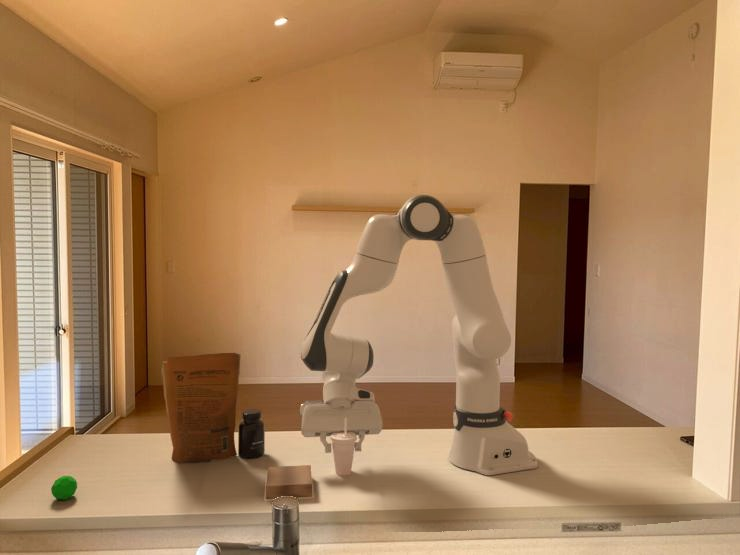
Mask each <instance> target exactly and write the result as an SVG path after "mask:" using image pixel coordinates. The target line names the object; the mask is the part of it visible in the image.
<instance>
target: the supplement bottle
mask: <svg viewBox="0 0 740 555" xmlns="http://www.w3.org/2000/svg"><path fill="white" fill-rule="evenodd" d="M241 415H242V416H241V419H242V420H240V422H239V423H238V427H237V428H238V429H237V431H238V432H237V433H238V434H237V436H238V437H237V438H238V439H237V440H238V441H237V446H238V447H237V448H238V449H237V451H238V452H237V455H238V457H239V458H240V459H243V460H256V459H258V458H262V457H263V456H264V455H265V447H266V446H265V444H266V443H265V442H266V441H265V439H266V437H265V436H266V435H265V434H266V433H265V432H266V430H265V429H266V428H265V426H266V425H265V422H264V421H263V420H262V411H261V409H259V408H247V409H244V410H242V412H241Z"/></svg>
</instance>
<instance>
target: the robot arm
mask: <svg viewBox="0 0 740 555" xmlns="http://www.w3.org/2000/svg"><path fill="white" fill-rule="evenodd" d="M410 240H416V241H431V242H432V241H433V242H434V243H435V244H436V246H437V247H438V249H439V250H438V251H439V253H440V256H441V257H440V258H441V263H442V268H443V273H444V278H445V283H446V288H447V291H448V295H449V298H450V300H451V302H452V305H453V308H454V311H455V316H454V317H453V319H452V322H451V331H452V345H453V357H454V365H455V366H454V367H455V375H456V376H455V378H456V379H455V380H456V382H455V384H456V386H455V387H456V388H455V404H454V406H453V407H454V408H453V416H452V417H453V418H452V419H453V420H452V421H453V427H454V430H453V437H452V443H451V447H450V451H449V454H448V461H449V462H450V463H452V464H453V466H456V467H458V468H461V469H464V470H469V471H472V472H477V473H479V474H482V475H485V476H493V475H498V474H499V475H501V474H505V473H506V474H507V473H512V472H514V473H515V472H519V471H527V470H533V469H537V468H538V466H539V465H538V464H539V462H538V459H537V456H535V455H534V453H532V452H531V451H530V449H529V446H528V441H527V439H526V438H525V435H523V434H522V433H521V432H520V431H519V430H517V429H516V428H515V427H514V426H513V425H511V424H510V423H509V422H508V421H512V420H513V419H514V414H513V413H512V412H510V411H509V410H506V409H505V408H503V407H502V406H500V399H501V398H500V397H501V392H500V391H501V376H500V374H499V370H498V364H497V359H500V358H502V357H504V356H505V355H506V354H507V352H508V351H509V349H510V347H511V344H512V337H511V335H512V334H511V332H510V330H509V328H508V327H507V324H506V322H505V317H504V314H503V311H502V308H501V306H500V303H499V301H498V298H497V295H496V293H495V292H496V291H495V289H494V286H493V282H492V277H491V273H490V268H489V265H488V258H487V253H486V249H485V245H484V242H483V238H482V236H481V233H480V230H479V227H478V225H477V222H476V221H475V220H474V218H472V217H471V216H468V215H465V214H455V215H453V214H452V213H451V212H450V211H449V210H448V209H447V208H446V207H445V205H444V204H443V203H442V202H441V201H440V200H439V199H437V198H436V197H434V196H433V195H427V194H420V195H415V196H413V197H411V198H409V199H407V201H405V203H404V204H403V205H402V207H401V208H400V209H399V210H398V211H397V212H396V213H395V214H393V215H392V214H388V213H387V214H385V213H384V214H383V213H382V214H381V213H379V214H374V215H372V216H371V217H370V218H369V219H368V221H367V223H366V224H365V226H364V229H363V231H362V233H361V235H360V238H359V241H358V244H357V248H356V252H355V255H354V258H353V259H352V261H351V262H350V264H349V265H348V266H347V268H346V269H345V270H342V271H339V272H338V273H337V274H336V276H335V278H334V279H333V281H332V283H331V285H330V286H329V288H328V291H327V293H326V294H325V298H324V299H323V302H322V304H321V306H320V308H319V310H318V311H319V312H318V313H317V315H316V317H315V320H314V322H313V324H312V325H311V328H310V330H309V331H308V333H307V335H306V337H305V338H304V340H303V343H302V346H301V351H300V358H301V360H302V363H303V364H304V365H305V367H307V368H308V369H309V370H310V371H312V372H313V371H314V372H321V375H322V376H321V377H322V381H323V387H322V399H319V400H305V402H302V404H300V406H299V415H300V416H301V427H300V428H301V435H302V436H303V438H317V437H318V438H319V440H320V442H321V444H322V445H323V447H324V453H325V454H330V453H331V454H332V452H333V448H332V442H331V443H328V441H327V437H331V434H332V433H334V432H338V431H345V418H347V431H350V432H353V433H355V434H356V435H357V436H358V439H359V440H358V441H357V442H356V441H355V447H354V453H355V452H362V444H363V442H364V439H365V437H366V435H367V436H368V435H379V434H380V433H381V432H382V431H383V425H384V424H383V418H382V414H381V410H380V407H379V405H378V404H377V403H376V402H375V401H376V400H375V399H376V398H375V393H374V392H373V391H370V390H366V389H362V388H358V387H357V386H356V381H357V379H360V378H362V377H363V376H365V375H366V374H367V373H369V371H370V370H371V369H372V367H373V365H374V350H373V349H374V348H373V347H372V345H371V343H370V341H369V340H367V339H365V338H361V337H357V336H351V335H343V334H338V333H333V332H332V330H333V327H334V325H335V323H336V321H337V319H338V316H339V314H340V312H341V310H342V307H343V306H344V305H345V303H346V302H348V301H349V300H350V299H352V298H356V297H359V296H364V295H370V294H375V293H379V292H382V291H383V290H384V289H387V288H388V287H389V286H390V284H392V282H393V280H394V279H395V276H396V273H397V270H398V265H399V262H400V258H401V253H402V251H403V248H404V247H405V245H406V244H407V242H409V241H410Z"/></svg>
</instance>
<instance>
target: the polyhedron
mask: <svg viewBox="0 0 740 555" xmlns="http://www.w3.org/2000/svg"><path fill="white" fill-rule="evenodd" d="M77 489H78V482H77V479H75V478H74V477H73V476H70V475H62V476H59V478H57V479H55V480H54V482H53V484H52V486H51V489H50V490H51V495H52V497H54V498H55V499H56V500H59V501H61V500H62V501H63V500H64V501H66V500H68V499H70V498H71V497H73V496H74V495H75V493H76V491H77Z"/></svg>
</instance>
